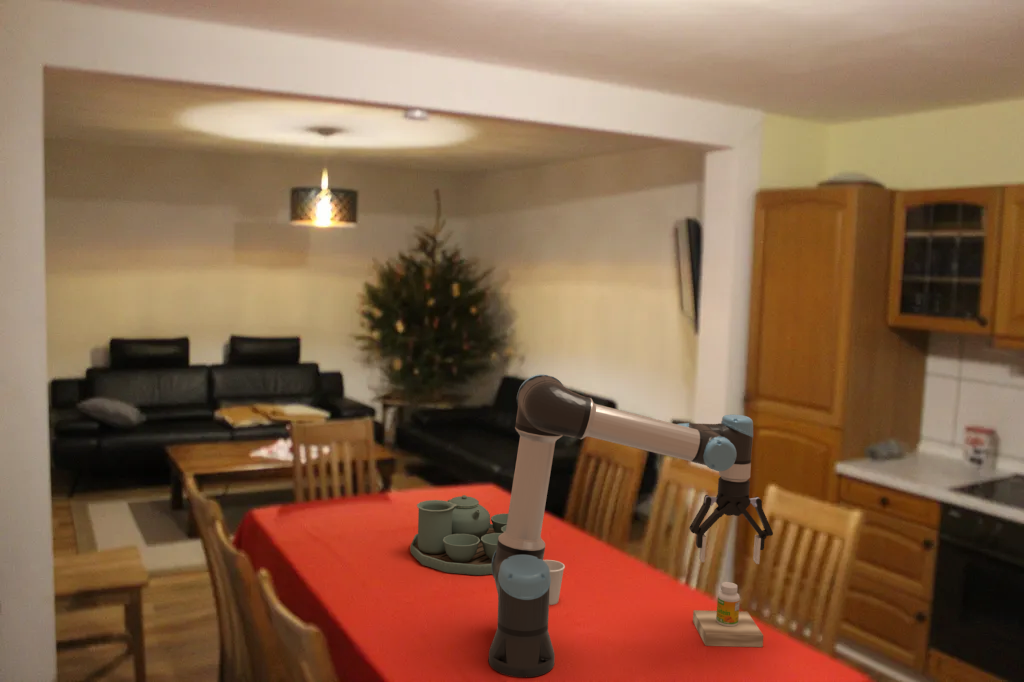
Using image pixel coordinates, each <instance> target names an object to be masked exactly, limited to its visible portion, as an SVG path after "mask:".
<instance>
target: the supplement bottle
mask: <svg viewBox="0 0 1024 682" xmlns="http://www.w3.org/2000/svg"><path fill="white" fill-rule="evenodd" d="M720 584H721V585H720V591H719V592H718V593H717V599H716V601H717V602H716V611H717V615H716V621H717V622H718V623H719V624H721V625H724V626H736V625H737V624H738V619H739V611H740V600H741V599H740V598H741V597H740V594H739V593H738V584H736V583H733V582H729V581H723V582H722V583H720Z"/></svg>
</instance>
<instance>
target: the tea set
mask: <svg viewBox="0 0 1024 682" xmlns="http://www.w3.org/2000/svg"><path fill="white" fill-rule="evenodd" d="M416 507H417V509H418V514H417V515H418V516H417V517H418V519H417V520H418V523H417V534H416V533H415V534H414V537H413V539H412V540H411V543H410V548H409V549H410V553H411V555H412V557H414V558H415V559H416V561H418V562H419V563H420V564H421V565H422V566H426V567H429V568H431V569H435V570H437V571H440V572H444V573H448V574H458V575H459V574H461V575H470V576H471V575H472V576H488V575H493V574H492V558H493V555H494V553H495V551H496V549H497V543H498V537H499V535H501V534H502V533H504V532H505V531H506V525H507V519H508V513H498V514H494V515H492V516H491V514H490V512H489V511H488V510H487V509H486V508H485V507H484V506H483V505H481V504H479V500H478V499H477V498H475V497H472V496H467V495H465V494H464V495H463V494H462V495H461V496H455V497H452V498H451V499H450V498H449V499H447V501H446V500H443V499H442V500H440V499H430V500H429V499H428V500H424V501H420V502H418V503H417V504H416Z"/></svg>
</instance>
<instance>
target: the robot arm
mask: <svg viewBox="0 0 1024 682" xmlns="http://www.w3.org/2000/svg"><path fill="white" fill-rule="evenodd" d="M516 403H517V412H516V420H515V426H514V429H515V431H516V432H517V434H518V435H519V441H518V447H517V455H516V460H515V469H514V474H513V479H512V487H511V493H510V500H509V508H508V512H507V514H508V519H507V525H506V531H505V532H504V533H502V534H501V535H499V537H498V543H497V549H496V551H495V553H494V555H493V558H492V574H491V575H492V576H493V579H494V582H495V587H496V591H497V627H496V631H495V634H494V637H493V639H492V642H491V644H490V647H489V650H488V664H489V666H490V667H491V668H492V669H493V670H494V671H496V672H498V673H499V674H502V675H504V676H510V677H516V678H534V677H539V676H542V675H544V674H547V673H549V672H551V670H552V669H553V668H554V666H555V657H556V656H555V655H556V654H555V650H554V646H553V643H552V640H551V637H550V632H549V617H550V615H549V612H550V605H549V590H550V583H551V577H550V570H549V567H548V565H547V564H546V563H545V562H544V561H543V560H544V556H545V552H546V551H545V549H546V542H545V541H544V540H543V539H542V531H543V530H542V529H543V521H544V517H545V516H544V515H545V509H546V502H547V499H548V496H547V495H548V492H549V491H548V490H549V484H550V477H551V471H552V465H553V460H554V459H553V458H554V452H555V446H556V442H557V440H559V439H560V438H562V437H570V438H573V439H578V440H582V439H585V438H586V437H588V438H594V439H597V440H601V441H606V442H610V443H613V444H618V445H621V446H626V447H630V448H635V449H639V450H643V451H647V452H651V453H655V454H659V455H663V456H668V457H671V458H676V459H680V460H684V461H687V462H688V461H689V462H692V463H694V464H699V465H703V466H706V467H707V468H709V469H710V470H713V471H716V472H718V475H719V478H718V483H717V495H716V496H710V495H708V494H705V495H704V498H703V502H702V505H700V508H699V510H698V511H697V513H696V515H695V517H694V519H693V520H692V522H691V524H690V525H689V529H688V530H690V532H691V533H692V534H695V535H696V538H695V539H696V540H695V545H696V547H697V549H699V552H698V553H699V554H698V555H699V556H698V559H699V560H700V563H705V560H706V547H707V545H706V544H707V543H706V542H707V536H706V534H705V533H706V532H708V531H709V530H710V528H712V526H713V525H714V524H715V523H716V522H717V521H718V520H719V519H720V518H722V517H723V516H724V515H726V516H736V517H740V516H741V515H743V517H745V519H746V520H747V521H748V523H749V524H750V525H751V526H752V528H753V529H754V531H755V532H756V533H757V534H755V535H754V540H753V541H754V542H753V544H754V545H753V558H752V560H753V562H754V563H755V564H756V565H760V559H761V558H760V557H761V551H763V550H764V549H765V541H766V539H767V537H768V536H769V537H771V536H773V535H774V532H773V530H772V528H771V524H769V523H770V522H769V520H768V519H767V516H766V513H765V511H764V509H763V501H762V498H760V497H759V496H755V497H751V498H750V483H751V481H750V478H751V471H752V470H751V469H752V468H751V467H752V448H753V441H754V440H753V439H754V422H753V419H752V418H751V417H749V416H746V415H742V414H725V415H724V416H722V418H721V421H720V423H719V422H718V423H692V422H691V423H690V422H685V423H677V424H676V423H672V422H668V421H666V420H665V421H664V420H660V419H656V418H654V417H653V418H652V417H649V416H644V415H640V414H637V413H633V412H629V411H625V410H622V409H618V408H617V409H616V408H613V407H609V406H605V405H602V404H597V403H595V402H594V401H593V399H592V398H591V397H588V396H584V395H581V394H579V393H576V392H574V391H572V390H570V389H568V388H567V387H566V386H564V384H563V383H562V382H561V380H559V379H557V378H556V377H554V376H551V375H548V374H535V375H531V376H530V377H528V378H526V379H525V380H524V381H523V382H522V383H521V385H520V386H519V389H518V392H517V395H516ZM715 503H716V505H717V506H716V507H715V508H714V511H713V512H712V513H711V514H710V515H709V516H708V517H707V518H706V519H705V517H706V516H707V514H708V512H709V510H710V508H711V506H713V505H714V504H715ZM750 505H752V507H754V508H755V511H756V512H757V515H758V518H759V520H760V522H761V524H762V525H761V526H762V527H763V529H761V527H760V526H759V525H758V523H757V522H756V521H755V519H754V518H753V517H752V515H751V514H750V512H748V510H747V509H748V507H749V506H750ZM704 519H705V520H704ZM703 520H704V521H703Z"/></svg>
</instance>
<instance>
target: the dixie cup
mask: <svg viewBox="0 0 1024 682" xmlns="http://www.w3.org/2000/svg"><path fill="white" fill-rule="evenodd" d="M543 561H544V562H545V563H546V564H547V565H548V567H549V570H550V577H551V583H550V590H549V606H552V605H557V604H559V601H560V600H559V599H560V594H561V590H562V589H561V588H562V581H563V576H564V575H563V574H564V570H565V568H566V565H565V564H564V563H563V562H561V561H559V560H552V559H543Z"/></svg>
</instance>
